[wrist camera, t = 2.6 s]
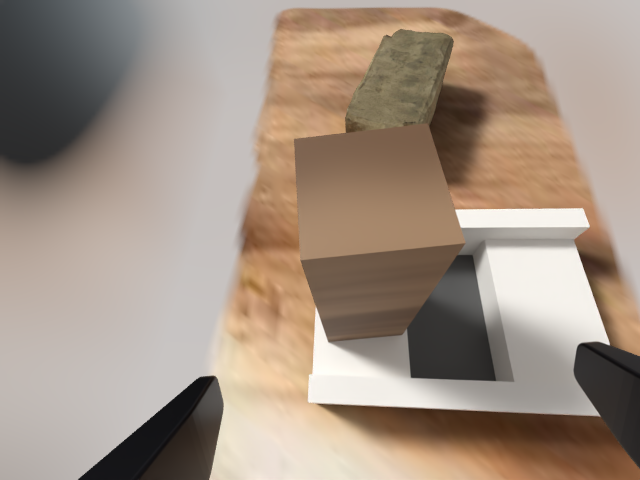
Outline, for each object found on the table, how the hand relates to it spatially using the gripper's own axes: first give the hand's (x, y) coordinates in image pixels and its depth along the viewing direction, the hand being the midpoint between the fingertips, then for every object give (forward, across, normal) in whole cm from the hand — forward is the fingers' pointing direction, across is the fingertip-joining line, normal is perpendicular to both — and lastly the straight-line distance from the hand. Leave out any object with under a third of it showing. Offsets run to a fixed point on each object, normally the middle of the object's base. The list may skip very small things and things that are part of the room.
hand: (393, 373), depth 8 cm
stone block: (+23, -5, -6) cm, 25 cm away
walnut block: (+10, 0, +3) cm, 10 cm away
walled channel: (+11, -5, +6) cm, 13 cm away
